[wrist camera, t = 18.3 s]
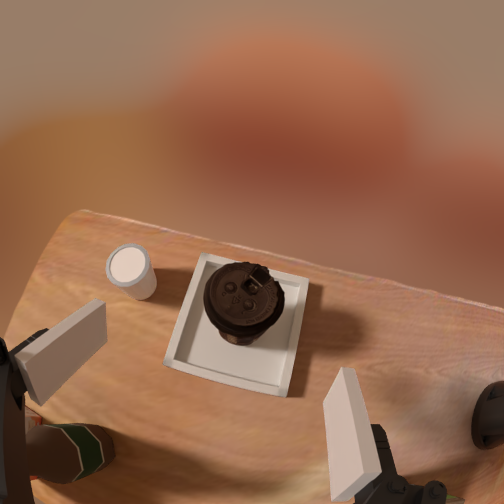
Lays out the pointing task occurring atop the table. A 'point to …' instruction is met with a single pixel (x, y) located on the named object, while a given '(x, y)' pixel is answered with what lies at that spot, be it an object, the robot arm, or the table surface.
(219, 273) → the coffee cup
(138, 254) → the shot glass
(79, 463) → the beer bottle
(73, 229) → the table surface
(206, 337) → the tray
